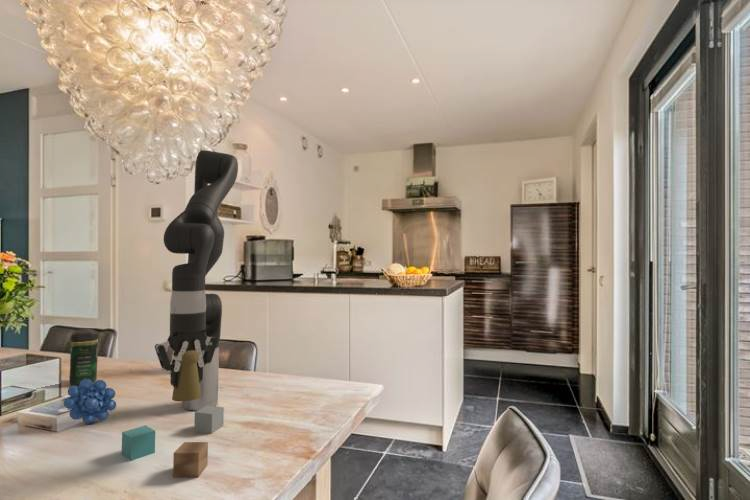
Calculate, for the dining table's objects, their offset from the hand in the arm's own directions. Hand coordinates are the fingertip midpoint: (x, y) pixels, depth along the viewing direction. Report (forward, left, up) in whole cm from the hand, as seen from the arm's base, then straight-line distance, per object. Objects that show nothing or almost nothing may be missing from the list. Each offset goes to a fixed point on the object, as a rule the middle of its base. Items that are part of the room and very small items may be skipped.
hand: (186, 384), depth 96 cm
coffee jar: (-75, +24, -15) cm, 80 cm away
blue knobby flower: (-35, +1, -15) cm, 38 cm away
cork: (0, 0, -3) cm, 3 cm away
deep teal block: (-9, -5, -15) cm, 18 cm away
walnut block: (+8, -6, -15) cm, 18 cm away
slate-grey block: (-5, +12, -15) cm, 20 cm away
